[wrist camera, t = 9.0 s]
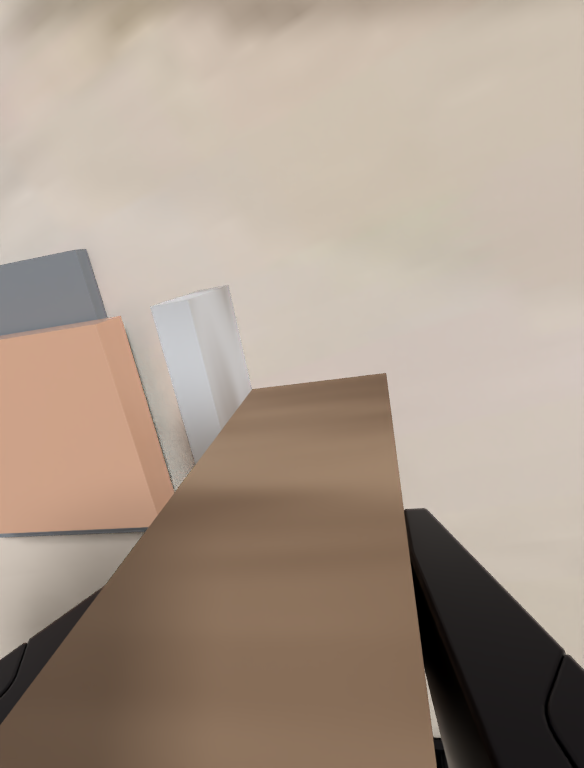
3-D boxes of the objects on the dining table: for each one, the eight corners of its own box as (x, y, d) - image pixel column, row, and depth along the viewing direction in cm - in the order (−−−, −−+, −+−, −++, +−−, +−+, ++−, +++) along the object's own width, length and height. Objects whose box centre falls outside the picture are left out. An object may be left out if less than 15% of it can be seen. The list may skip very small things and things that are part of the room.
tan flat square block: (161, 526, 16) (-8, 534, 18) (179, 500, 18) (22, 509, 19) (95, 324, 14) (-94, 355, 15) (123, 314, 15) (-51, 343, 17)
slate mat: (171, 522, 19) (165, 530, 18) (7, 529, 21) (-3, 537, 20) (86, 249, 15) (75, 249, 15) (-104, 288, 17) (-120, 289, 17)
